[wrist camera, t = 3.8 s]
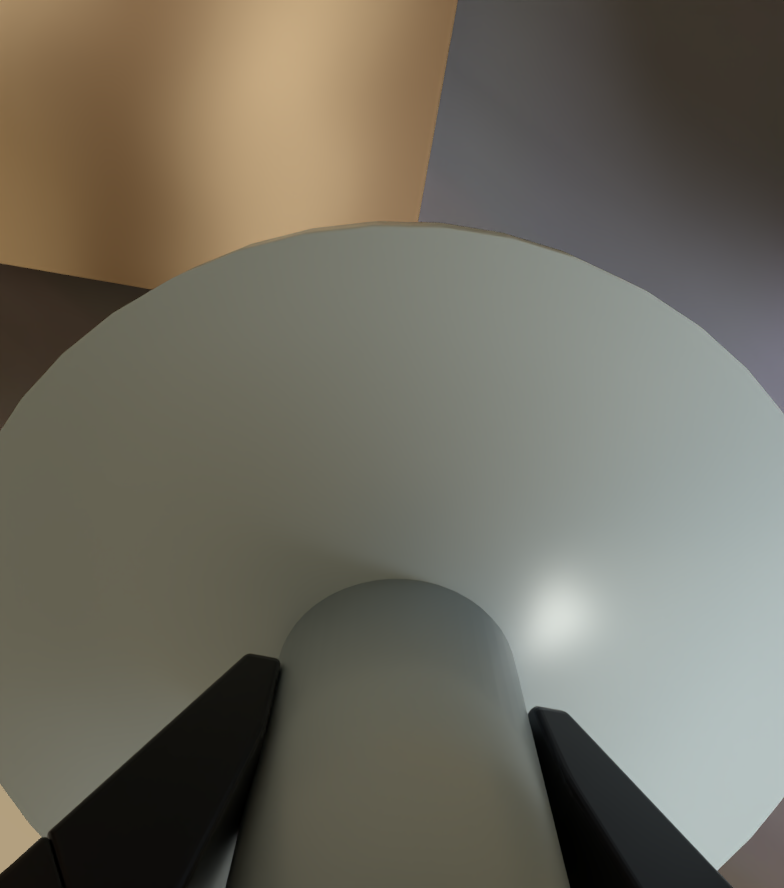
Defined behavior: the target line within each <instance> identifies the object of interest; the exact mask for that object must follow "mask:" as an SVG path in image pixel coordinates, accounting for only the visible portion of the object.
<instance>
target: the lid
mask: <svg viewBox="0 0 784 888" xmlns="http://www.w3.org/2000/svg"><path fill="white" fill-rule="evenodd" d="M248 653H252V654H258V655H263V656H268V657H274V658H277V659H278V660H279V661H280V663H281V665H280V671H279V675H278V679H277V684H276V688H275V693H274V697H273V702H272V706H271V711H270V715H269V719H268V724H267V728H266V733H265V737H264V742H263V746H262V750H261V753H260V757H259V761H258V764H257V768H256V771H255V774H254V777H253V780H252V784H251V787H250V790H249V793H248V796H247V800H246V804H245V807H244V811H243V815H242V818H241V823H240V827H239V831H238V836H237V840H236V844H235V848H234V853H233V857H232V861H231V866H230V870H229V874H228V878H227V883H226V887H225V888H570V884H569V880H568V876H567V872H566V868H565V864H564V860H563V856H562V852H561V848H560V844H559V840H558V836H557V832H556V828H555V824H554V820H553V815H552V811H551V807H550V803H549V799H548V795H547V791H546V787H545V783H544V779H543V775H542V771H541V767H540V763H539V759H538V755H537V751H536V746H535V742H534V738H533V734H532V730H531V726H530V722H529V718H528V713H529V711H530V710H531V708H533V707H535V706H541V707H547V708H552V709H558V710H563V711H565V712H567V713H568V714H569V715H570V716H571V717H572V718H573V719H574V720H575V721H576V722H577V723H578V724H579V725H580V726H581V727H582V728H583V729H584V730H585V732H586V733H587V734H588V735H589V736H590V737H591V738H592V739H593V740H594V741H595V742H596V743H597V744H598V745H599V746H600V747H601V748H602V750H603V751H604V752H605V753H606V754H607V755H608V756H609V757H610V758H611V759H612V760H613V761H614V762H615V763H616V764H617V765H618V766H619V767H620V769H621V770H622V771H623V772H624V773H625V774H626V775H627V776H628V777H629V778H630V779H631V780H632V781H633V782H634V783H635V784H636V785H637V787H638V788H639V789H640V790H641V791H642V792H643V793H644V794H645V795H646V796H647V797H648V798H649V799H650V800H651V801H652V802H653V803H654V805H655V806H656V807H657V808H658V809H659V810H660V811H661V812H662V813H663V814H664V815H665V816H666V817H667V818H668V819H669V820H670V821H671V822H672V824H673V825H674V826H675V827H676V828H677V829H678V830H679V831H680V832H681V833H682V834H683V835H684V836H685V837H686V838H687V839H688V840H689V842H690V843H691V844H692V845H693V846H694V847H695V848H696V849H697V850H698V851H699V852H700V853H701V854H702V855H703V856H704V857H705V858H706V860H707V861H708V862H709V863H710V864H711V865H712V866H713V867H714V868H715V869H716V870H718V869H719V868H720V867H721V866H722V865H723V864H724V863H725V862H727V861H728V860H729V859H730V858H731V857H732V856H733V855H734V854H735V853H736V852H737V851H738V850H739V849H740V848H741V847H742V846H743V845H744V844H745V843H746V842H747V841H748V840H749V839H750V838H751V837H752V836H753V835H754V834H755V832H756V831H757V830H758V829H759V827H760V826H761V825H762V824H763V822H764V821H765V820H766V819H767V818H768V816H769V815H770V814H771V813H772V811H773V810H774V809H775V808H776V806H777V805H778V804H779V803H780V801H781V800H782V799H783V797H784V414H783V412H782V411H781V410H780V409H779V408H778V406H777V405H776V404H775V403H774V401H773V400H772V399H771V398H770V396H769V395H768V394H767V393H766V391H765V390H764V389H763V388H762V387H761V385H760V384H759V383H758V382H757V380H756V379H755V378H754V377H753V375H752V374H751V373H750V372H749V371H748V369H747V368H746V367H744V366H743V365H742V364H741V363H740V362H739V361H738V360H737V359H736V358H735V357H733V356H732V355H731V354H730V353H729V352H728V351H727V350H726V349H725V348H723V347H722V346H721V345H720V344H719V343H718V342H717V341H716V340H715V339H713V338H712V337H711V336H710V335H709V334H708V333H707V332H706V331H705V330H703V329H702V328H701V327H700V326H699V325H697V324H695V323H694V322H692V321H691V320H689V319H688V318H686V317H685V316H683V315H682V314H680V313H679V312H677V311H676V310H674V309H673V308H671V307H670V306H668V305H667V304H665V303H664V302H662V301H661V300H659V299H658V298H656V297H655V296H653V295H652V294H650V293H649V292H647V291H646V290H644V289H641V288H639V287H637V286H635V285H633V284H631V283H629V282H627V281H625V280H623V279H621V278H619V277H617V276H615V275H612V274H610V273H608V272H606V271H604V270H602V269H600V268H598V267H595V266H593V265H591V264H589V263H587V262H585V261H583V260H580V259H578V258H576V257H574V256H572V255H570V254H568V253H566V252H563V251H561V250H557V249H554V248H551V247H548V246H544V245H541V244H538V243H535V242H531V241H528V240H525V239H522V238H518V237H515V236H512V235H509V234H505V233H501V232H495V231H489V230H483V229H477V228H470V227H464V226H458V225H452V224H446V223H437V222H395V221H372V222H363V223H354V224H345V225H337V226H328V227H319V228H311V229H307V230H304V231H300V232H296V233H292V234H288V235H284V236H280V237H276V238H272V239H268V240H264V241H261V242H257V243H253V244H250V245H247V246H245V247H242V248H240V249H238V250H235V251H233V252H230V253H228V254H225V255H223V256H220V257H218V258H216V259H213V260H211V261H208V262H206V263H203V264H201V265H199V266H196V267H194V268H192V269H190V270H188V271H186V272H184V273H182V274H180V275H178V276H176V277H174V278H172V279H170V280H168V281H166V282H165V283H163V284H161V285H160V286H158V287H156V288H154V289H153V290H151V291H149V292H148V293H146V294H144V295H143V296H141V297H139V298H137V299H136V300H134V301H132V302H131V303H129V304H127V305H126V306H124V307H122V308H121V309H119V310H117V311H115V312H114V313H112V314H111V315H110V316H108V317H107V318H106V319H105V320H103V321H102V322H101V323H100V324H98V325H97V326H96V327H95V328H94V329H92V330H91V331H90V332H89V333H87V334H86V335H85V336H84V337H82V338H81V339H80V340H79V341H77V342H76V343H75V344H74V345H73V346H71V347H70V348H69V349H68V350H66V351H65V352H64V353H63V354H62V355H61V356H60V357H59V358H58V359H57V360H56V361H55V362H54V363H53V365H52V366H51V367H50V368H49V369H48V370H47V371H46V372H45V373H44V374H43V376H42V377H41V378H40V379H39V380H38V381H37V382H36V383H35V384H34V385H33V387H32V388H31V389H30V390H29V391H28V392H27V393H26V394H25V395H24V396H23V398H22V399H21V400H20V402H19V403H18V405H17V406H16V408H15V409H14V411H13V412H12V414H11V415H10V417H9V418H8V420H7V421H6V423H5V424H4V426H3V428H2V429H1V431H0V784H1V785H2V786H3V788H4V789H5V791H6V792H7V794H8V795H9V796H10V798H11V799H12V800H13V802H14V803H15V804H16V806H17V807H18V809H19V810H20V811H21V813H22V814H23V815H24V817H25V818H26V820H28V822H29V823H30V825H31V826H32V827H33V828H34V829H35V830H36V831H37V832H38V833H39V834H40V835H41V836H42V837H47V833H48V832H49V831H50V830H51V829H52V828H53V827H54V826H55V825H56V824H57V823H58V822H60V821H61V820H62V819H63V818H64V817H65V816H66V815H67V814H68V813H70V812H71V811H72V810H73V809H74V808H75V807H76V806H77V805H78V804H80V803H81V802H82V801H83V800H84V799H85V798H86V797H87V796H88V795H90V794H91V793H92V792H93V791H94V790H95V789H96V788H97V787H98V786H100V785H101V784H102V783H103V782H104V781H105V780H106V779H107V778H108V777H110V776H111V775H112V774H113V773H114V772H115V771H116V770H117V769H118V768H120V767H121V766H122V765H123V764H124V763H125V762H126V761H127V760H128V759H130V758H131V757H132V756H133V755H134V754H135V753H136V752H137V751H138V750H140V749H141V748H142V747H143V746H144V745H145V744H146V743H147V742H148V741H150V740H151V739H152V738H153V737H154V736H155V735H156V734H157V733H158V732H160V731H161V730H162V729H163V728H164V727H165V726H166V725H167V724H168V723H170V722H171V721H172V720H173V719H174V718H175V717H176V716H177V715H178V714H180V713H181V712H182V711H183V710H184V709H185V708H186V707H187V706H188V705H190V704H191V703H192V702H193V701H194V700H195V699H196V698H197V697H198V696H200V695H201V694H202V693H203V692H204V691H205V690H206V689H207V688H208V687H210V686H211V685H212V684H213V683H214V682H215V681H216V680H217V679H218V678H220V677H221V676H222V675H223V674H224V673H225V672H226V671H227V670H228V669H230V668H231V667H232V666H233V665H234V664H235V663H236V662H237V661H238V660H240V659H241V658H242V657H243V656H244V655H246V654H248Z"/></svg>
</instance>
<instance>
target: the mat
mask: <svg viewBox="0 0 784 888" xmlns="http://www.w3.org/2000/svg"><path fill="white" fill-rule="evenodd" d="M457 2H458V0H0V263H1V264H7V265H13V266H19V267H25V268H30V269H36V270H42V271H48V272H54V273H59V274H65V275H71V276H77V277H83V278H88V279H94V280H100V281H106V282H112V283H117V284H123V285H129V286H135V287H141V288H146V289H152V290H153V289H154V288H156V287H158V286H160V285H161V284H163V283H165V282H166V281H168V280H170V279H172V278H174V277H176V276H178V275H180V274H182V273H184V272H186V271H188V270H190V269H192V268H194V267H196V266H199V265H201V264H203V263H206V262H208V261H211V260H213V259H216V258H218V257H220V256H223V255H225V254H228V253H230V252H233V251H235V250H238V249H240V248H242V247H245V246H247V245H250V244H253V243H257V242H261V241H264V240H268V239H272V238H276V237H280V236H284V235H288V234H292V233H296V232H300V231H304V230H307V229H311V228H319V227H328V226H337V225H345V224H354V223H363V222H372V221H395V222H418V218H419V213H420V207H421V202H422V196H423V191H424V185H425V180H426V174H427V168H428V163H429V157H430V152H431V146H432V141H433V135H434V129H435V124H436V118H437V113H438V107H439V102H440V96H441V91H442V85H443V79H444V74H445V68H446V63H447V57H448V52H449V46H450V41H451V35H452V29H453V24H454V18H455V13H456V7H457Z"/></svg>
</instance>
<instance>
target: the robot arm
mask: <svg viewBox="0 0 784 888" xmlns="http://www.w3.org/2000/svg"><path fill="white" fill-rule="evenodd" d="M280 665H281V663H280V661H279V660H278V659H277V658H274V657H268V656H263V655H258V654H252V653H248V654H246V655H244V656H243V657H242V658H241V659H240V660H238V661H237V662H236V663H235V664H234V665H233V666H232V667H231V668H230V669H228V670H227V671H226V672H225V673H224V674H223V675H222V676H221V677H220V678H218V679H217V680H216V681H215V682H214V683H213V684H212V685H211V686H210V687H208V688H207V689H206V690H205V691H204V692H203V693H202V694H201V695H200V696H198V697H197V698H196V699H195V700H194V701H193V702H192V703H191V704H190V705H188V706H187V707H186V708H185V709H184V710H183V711H182V712H181V713H180V714H178V715H177V716H176V717H175V718H174V719H173V720H172V721H171V722H170V723H168V724H167V725H166V726H165V727H164V728H163V729H162V730H161V731H160V732H158V733H157V734H156V735H155V736H154V737H153V738H152V739H151V740H150V741H148V742H147V743H146V744H145V745H144V746H143V747H142V748H141V749H140V750H138V751H137V752H136V753H135V754H134V755H133V756H132V757H131V758H130V759H128V760H127V761H126V762H125V763H124V764H123V765H122V766H121V767H120V768H118V769H117V770H116V771H115V772H114V773H113V774H112V775H111V776H110V777H108V778H107V779H106V780H105V781H104V782H103V783H102V784H101V785H100V786H98V787H97V788H96V789H95V790H94V791H93V792H92V793H91V794H90V795H88V796H87V797H86V798H85V799H84V800H83V801H82V802H81V803H80V804H78V805H77V806H76V807H75V808H74V809H73V810H72V811H71V812H70V813H68V814H67V815H66V816H65V817H64V818H63V819H62V820H61V821H60V822H58V823H57V824H56V825H55V826H54V827H53V828H52V829H51V830H50V831H49V832H48V833H47V837H42V838H40V839H39V840H38V841H37V842H36V843H35V844H33V845H32V846H31V847H30V848H29V849H28V850H27V851H26V852H25V853H24V854H22V855H21V856H20V857H19V858H18V859H17V860H16V861H15V862H14V863H13V864H11V865H10V866H9V867H8V868H7V869H6V870H4V871H3V872H2V873H1V874H0V888H225V887H226V883H227V878H228V874H229V870H230V866H231V861H232V857H233V853H234V848H235V844H236V840H237V836H238V831H239V827H240V823H241V818H242V815H243V811H244V807H245V804H246V800H247V796H248V793H249V790H250V787H251V784H252V780H253V777H254V774H255V771H256V768H257V764H258V761H259V757H260V753H261V750H262V746H263V742H264V737H265V733H266V728H267V724H268V719H269V715H270V711H271V706H272V702H273V697H274V693H275V688H276V684H277V679H278V675H279V671H280ZM528 718H529V722H530V726H531V730H532V734H533V738H534V742H535V746H536V751H537V755H538V759H539V763H540V767H541V771H542V775H543V779H544V783H545V787H546V791H547V795H548V799H549V803H550V807H551V811H552V815H553V820H554V824H555V828H556V832H557V836H558V840H559V844H560V848H561V852H562V856H563V860H564V864H565V868H566V872H567V876H568V880H569V884H570V888H733V887H732V886H731V885H730V884H729V883H728V882H727V881H726V880H725V879H724V878H723V876H722V875H721V874H720V873H719V872H718V871H717V870H716V869H715V868H714V867H713V866H712V865H711V864H710V863H709V862H708V861H707V860H706V858H705V857H704V856H703V855H702V854H701V853H700V852H699V851H698V850H697V849H696V848H695V847H694V846H693V845H692V844H691V843H690V842H689V840H688V839H687V838H686V837H685V836H684V835H683V834H682V833H681V832H680V831H679V830H678V829H677V828H676V827H675V826H674V825H673V824H672V822H671V821H670V820H669V819H668V818H667V817H666V816H665V815H664V814H663V813H662V812H661V811H660V810H659V809H658V808H657V807H656V806H655V805H654V803H653V802H652V801H651V800H650V799H649V798H648V797H647V796H646V795H645V794H644V793H643V792H642V791H641V790H640V789H639V788H638V787H637V785H636V784H635V783H634V782H633V781H632V780H631V779H630V778H629V777H628V776H627V775H626V774H625V773H624V772H623V771H622V770H621V769H620V767H619V766H618V765H617V764H616V763H615V762H614V761H613V760H612V759H611V758H610V757H609V756H608V755H607V754H606V753H605V752H604V751H603V750H602V748H601V747H600V746H599V745H598V744H597V743H596V742H595V741H594V740H593V739H592V738H591V737H590V736H589V735H588V734H587V733H586V732H585V730H584V729H583V728H582V727H581V726H580V725H579V724H578V723H577V722H576V721H575V720H574V719H573V718H572V717H571V716H570V715H569V714H568V713H567V712H565V711H563V710H558V709H552V708H547V707H541V706H535V707H533V708H531V710H530V711H529V713H528Z"/></svg>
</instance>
